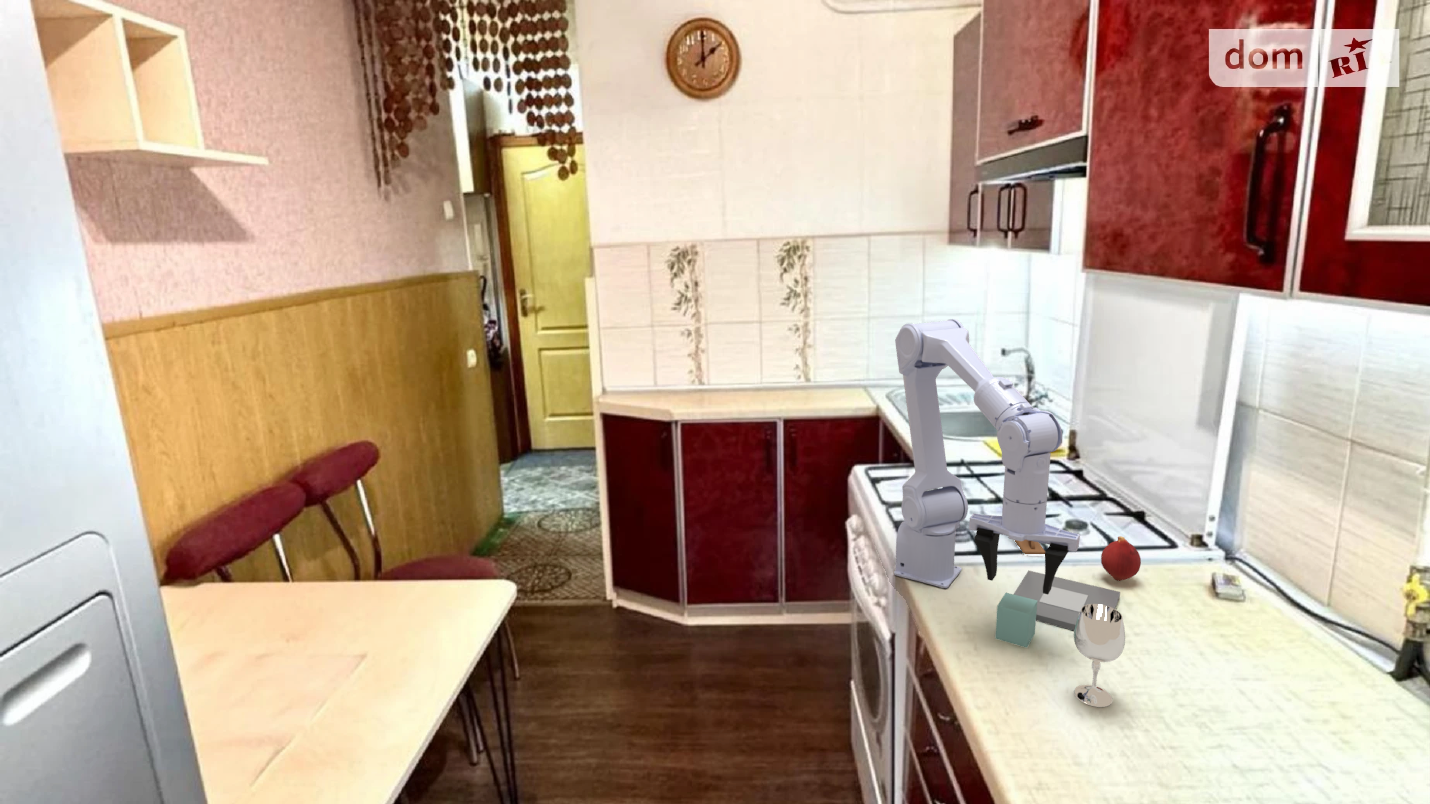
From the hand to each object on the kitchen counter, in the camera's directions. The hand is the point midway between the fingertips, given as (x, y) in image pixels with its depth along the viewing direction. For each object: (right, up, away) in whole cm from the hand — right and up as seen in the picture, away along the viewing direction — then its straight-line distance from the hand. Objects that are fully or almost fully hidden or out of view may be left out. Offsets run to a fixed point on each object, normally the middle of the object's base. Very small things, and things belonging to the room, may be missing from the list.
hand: (1018, 584), depth 108 cm
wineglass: (+5, -12, -12) cm, 17 cm away
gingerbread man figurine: (+14, -1, +31) cm, 34 cm away
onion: (+24, -4, +17) cm, 29 cm away
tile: (+11, -6, +10) cm, 16 cm away
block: (0, -8, +2) cm, 9 cm away
